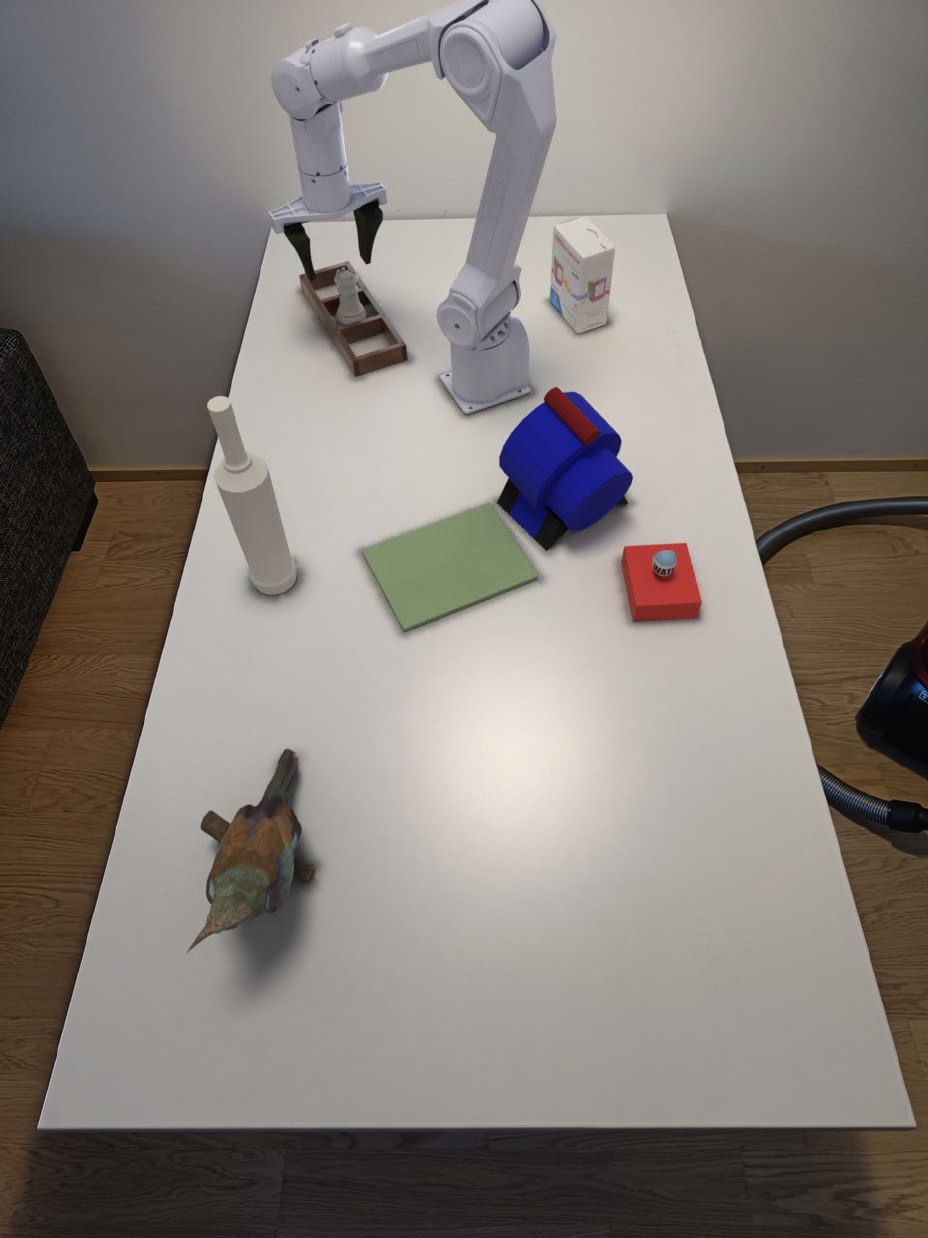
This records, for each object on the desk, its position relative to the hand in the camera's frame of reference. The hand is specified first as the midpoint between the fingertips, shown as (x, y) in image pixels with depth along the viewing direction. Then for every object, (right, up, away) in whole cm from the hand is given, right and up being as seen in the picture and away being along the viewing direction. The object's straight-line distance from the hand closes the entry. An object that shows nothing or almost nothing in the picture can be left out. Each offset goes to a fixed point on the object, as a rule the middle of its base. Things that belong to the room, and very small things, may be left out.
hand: (338, 267), depth 114 cm
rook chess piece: (+1, -4, +9) cm, 10 cm away
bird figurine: (-2, -67, -35) cm, 76 cm away
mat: (+15, -39, -16) cm, 45 cm away
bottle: (-5, -41, -16) cm, 44 cm away
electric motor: (+28, -32, -11) cm, 44 cm away
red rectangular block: (+37, -42, -18) cm, 59 cm away
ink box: (+32, -3, +10) cm, 34 cm away
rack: (+1, -4, +9) cm, 10 cm away
